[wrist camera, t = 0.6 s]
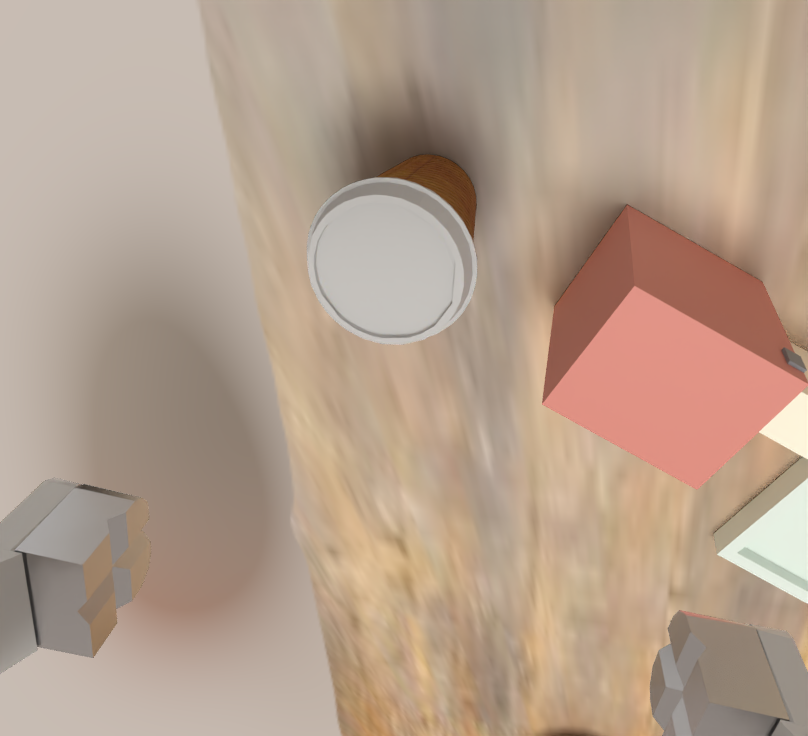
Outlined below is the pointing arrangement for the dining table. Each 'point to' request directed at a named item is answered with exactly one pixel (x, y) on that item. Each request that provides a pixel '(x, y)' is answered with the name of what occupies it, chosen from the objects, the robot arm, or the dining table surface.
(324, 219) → the disposable coffee cup
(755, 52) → the dining table surface
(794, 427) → the tall beige block
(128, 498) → the robot arm
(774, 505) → the dish
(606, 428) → the block
